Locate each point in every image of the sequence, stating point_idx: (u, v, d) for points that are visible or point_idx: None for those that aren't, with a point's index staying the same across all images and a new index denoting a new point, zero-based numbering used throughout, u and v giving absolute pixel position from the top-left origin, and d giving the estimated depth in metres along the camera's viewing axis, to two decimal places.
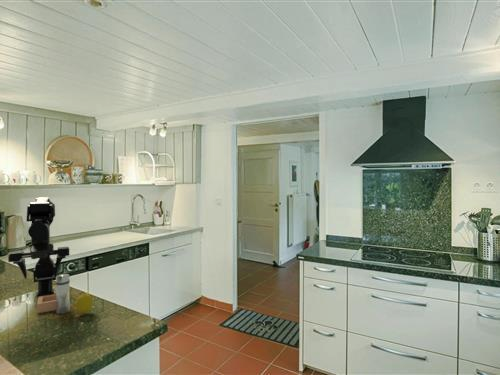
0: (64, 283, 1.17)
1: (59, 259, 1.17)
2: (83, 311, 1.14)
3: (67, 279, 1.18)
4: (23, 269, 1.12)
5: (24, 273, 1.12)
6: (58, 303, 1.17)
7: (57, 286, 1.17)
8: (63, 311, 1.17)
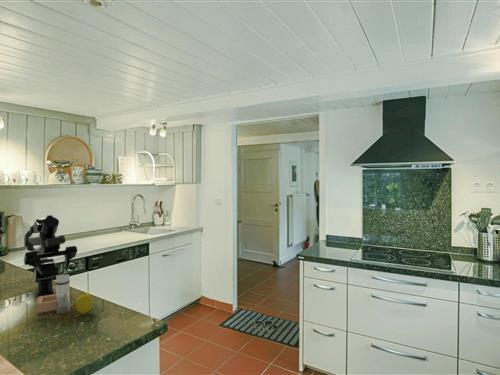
0: (64, 283, 1.17)
1: (69, 253, 1.33)
2: (83, 311, 1.14)
3: (67, 279, 1.18)
4: (39, 264, 1.24)
5: (40, 268, 1.24)
6: (58, 303, 1.17)
7: (57, 286, 1.17)
8: (63, 311, 1.17)
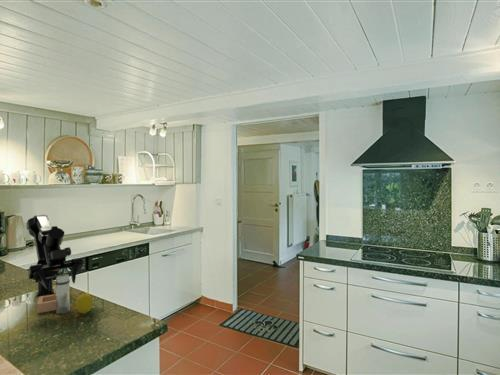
0: (64, 283, 1.17)
1: (75, 266, 1.27)
2: (83, 311, 1.14)
3: (67, 279, 1.19)
4: (44, 278, 1.18)
5: (45, 282, 1.18)
6: (58, 303, 1.17)
7: (57, 286, 1.17)
8: (63, 311, 1.17)
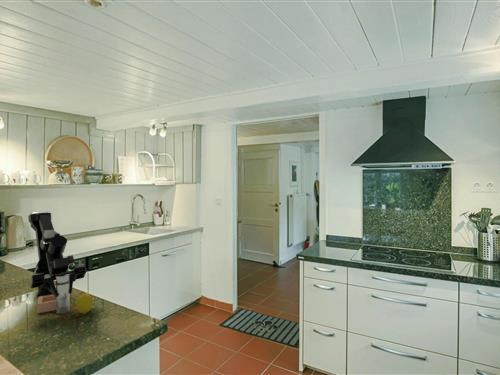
0: (64, 283, 1.17)
1: (72, 275, 1.23)
2: (83, 311, 1.14)
3: (67, 279, 1.18)
4: (53, 286, 1.17)
5: (55, 290, 1.17)
6: (58, 303, 1.17)
7: (57, 286, 1.17)
8: (63, 311, 1.17)
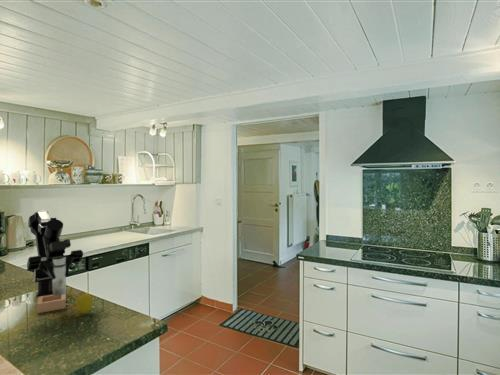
0: (61, 266, 1.19)
1: (69, 259, 1.24)
2: (83, 311, 1.14)
3: (64, 262, 1.20)
4: (50, 269, 1.19)
5: (51, 272, 1.18)
6: (54, 286, 1.18)
7: (54, 269, 1.18)
8: (59, 293, 1.19)
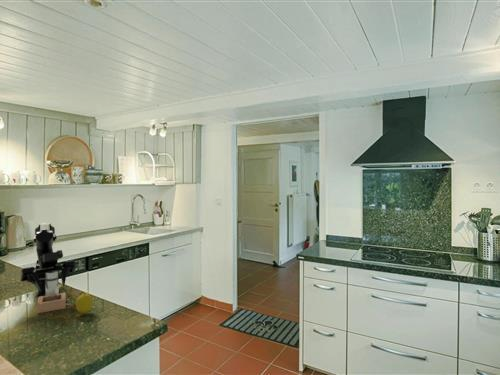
0: (53, 279, 1.22)
1: (65, 269, 1.28)
2: (83, 311, 1.14)
3: (56, 275, 1.23)
4: (38, 280, 1.21)
5: (39, 284, 1.20)
6: (47, 299, 1.22)
7: (46, 282, 1.22)
8: None
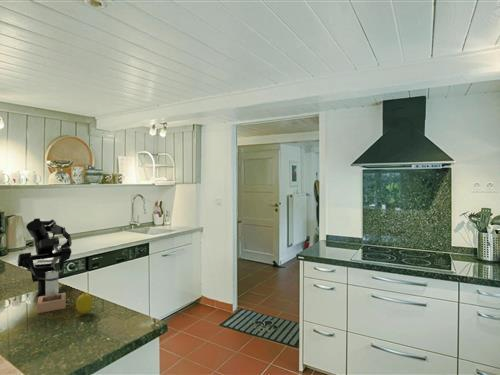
0: (53, 279, 1.22)
1: (63, 255, 1.33)
2: (83, 311, 1.14)
3: (56, 275, 1.24)
4: (33, 266, 1.24)
5: (34, 269, 1.24)
6: (47, 299, 1.22)
7: (46, 282, 1.22)
8: None
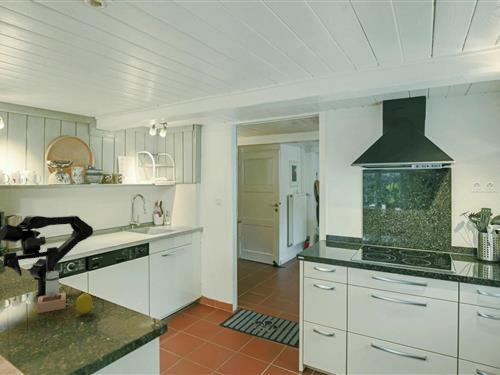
0: (54, 279, 1.22)
1: (50, 254, 1.30)
2: (83, 311, 1.14)
3: (57, 275, 1.24)
4: (18, 266, 1.22)
5: (19, 269, 1.21)
6: (47, 298, 1.22)
7: (47, 282, 1.22)
8: None
